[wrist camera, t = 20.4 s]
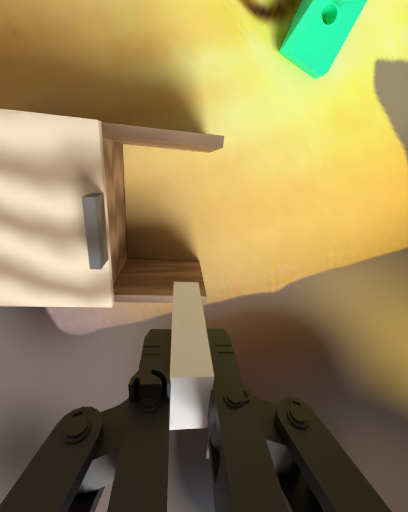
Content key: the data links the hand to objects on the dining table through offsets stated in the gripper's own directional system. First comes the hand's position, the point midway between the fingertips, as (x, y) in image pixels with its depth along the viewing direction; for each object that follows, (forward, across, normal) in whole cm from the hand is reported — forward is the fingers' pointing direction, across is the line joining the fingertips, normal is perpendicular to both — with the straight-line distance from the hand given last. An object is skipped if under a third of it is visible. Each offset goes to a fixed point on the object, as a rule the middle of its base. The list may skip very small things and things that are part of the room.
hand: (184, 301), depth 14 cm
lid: (+16, -16, 0) cm, 23 cm away
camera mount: (+30, +19, +28) cm, 45 cm away
